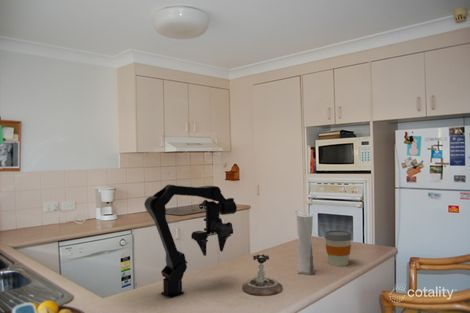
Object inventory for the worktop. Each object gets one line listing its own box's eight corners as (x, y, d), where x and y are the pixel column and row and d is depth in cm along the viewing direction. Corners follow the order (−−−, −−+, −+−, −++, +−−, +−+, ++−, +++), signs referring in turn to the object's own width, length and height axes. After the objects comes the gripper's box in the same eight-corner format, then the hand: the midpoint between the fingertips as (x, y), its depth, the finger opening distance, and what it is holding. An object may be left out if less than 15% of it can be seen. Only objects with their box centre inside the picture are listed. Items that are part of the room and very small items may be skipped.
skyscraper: (294, 273, 171) (293, 211, 171) (298, 268, 179) (296, 209, 179) (313, 275, 168) (312, 212, 168) (316, 270, 176) (315, 209, 176)
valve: (265, 282, 156) (264, 253, 156) (272, 287, 150) (272, 257, 150) (250, 285, 154) (250, 255, 154) (257, 290, 148) (257, 259, 148)
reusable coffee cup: (342, 268, 177) (341, 236, 177) (320, 263, 187) (319, 232, 187) (356, 263, 185) (356, 232, 185) (334, 258, 195) (334, 229, 195)
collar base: (264, 299, 141) (264, 292, 141) (234, 289, 152) (234, 282, 152) (290, 288, 152) (290, 281, 152) (260, 279, 164) (260, 273, 164)
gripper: (208, 221, 146) (208, 261, 146) (242, 215, 159) (242, 252, 159) (190, 218, 154) (190, 256, 154) (223, 212, 167) (224, 248, 167)
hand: (213, 253), depth 158 cm, fingers open, 9 cm apart
